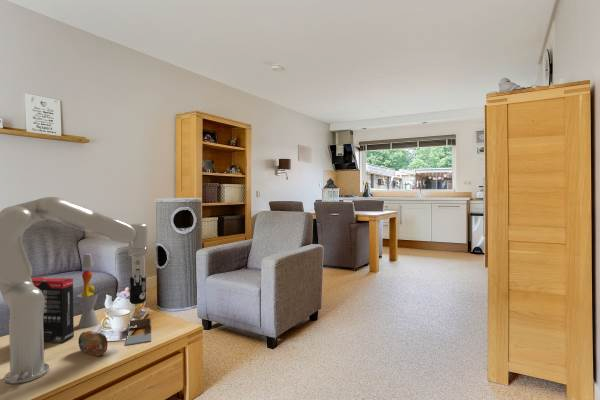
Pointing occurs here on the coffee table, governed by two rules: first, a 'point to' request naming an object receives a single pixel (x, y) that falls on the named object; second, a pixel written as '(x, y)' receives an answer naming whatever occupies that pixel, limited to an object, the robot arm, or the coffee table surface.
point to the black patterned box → (140, 323)
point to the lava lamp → (87, 296)
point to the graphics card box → (57, 308)
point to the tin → (93, 343)
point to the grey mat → (138, 339)
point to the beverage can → (139, 297)
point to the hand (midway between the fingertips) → (137, 291)
